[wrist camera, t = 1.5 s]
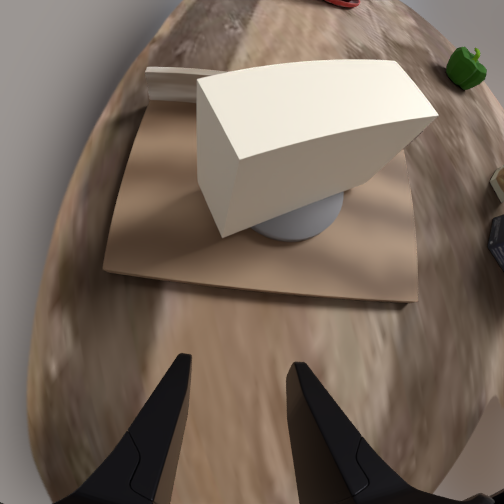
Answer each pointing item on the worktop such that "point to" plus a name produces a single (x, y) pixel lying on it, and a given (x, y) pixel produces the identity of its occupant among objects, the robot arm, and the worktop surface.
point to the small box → (497, 240)
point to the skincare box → (498, 183)
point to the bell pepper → (465, 68)
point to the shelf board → (248, 240)
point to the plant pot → (345, 2)
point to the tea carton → (299, 140)
